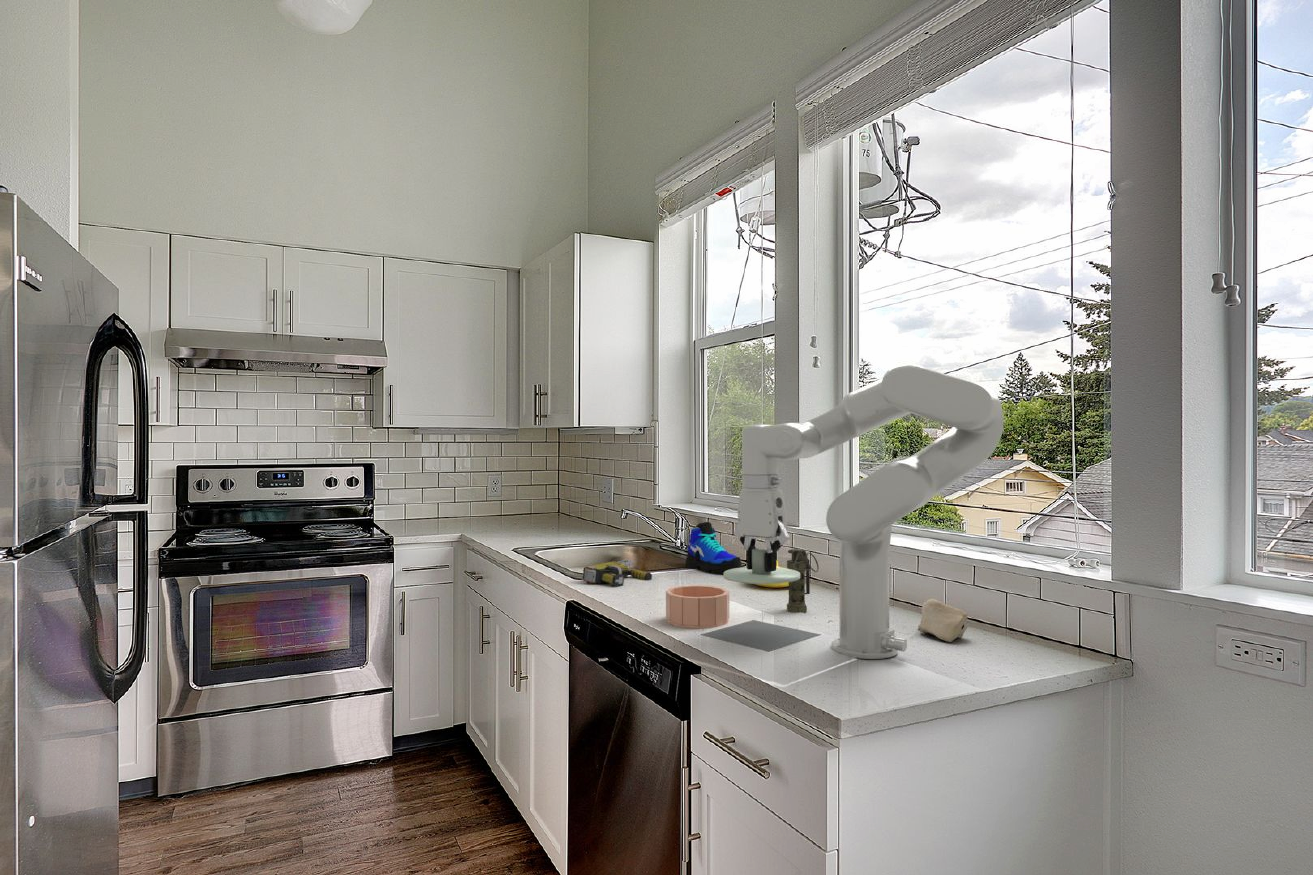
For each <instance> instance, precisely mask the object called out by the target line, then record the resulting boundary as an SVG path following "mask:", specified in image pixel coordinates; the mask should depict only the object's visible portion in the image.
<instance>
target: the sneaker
mask: <svg viewBox="0 0 1313 875" xmlns="http://www.w3.org/2000/svg"><path fill="white" fill-rule="evenodd" d="M716 534H717V533H716V531H715V528H714V527H713V526H712V523H711V522H710V521H704V522H699V523H698V524H697V525H695V527H693V528H692V529H691V531H690V535H689V540H688V547H687V553H686V554H687V555H686V558H685V566H686V568H688V569H692V570H700V571H701V572H704V573H706V574H713V575H715V574H719V575H721V574H722V575H723V574H724V572H725V571H727V570H730V569H735V568H742V561H741V557H739V556H737V555H735V554H732V553H729V552H728V551H727V550H726V549H725V548H724V547H723V546H722V545H721V544H720V542H719V541H718V539H716V537H717V535H716Z"/></svg>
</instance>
